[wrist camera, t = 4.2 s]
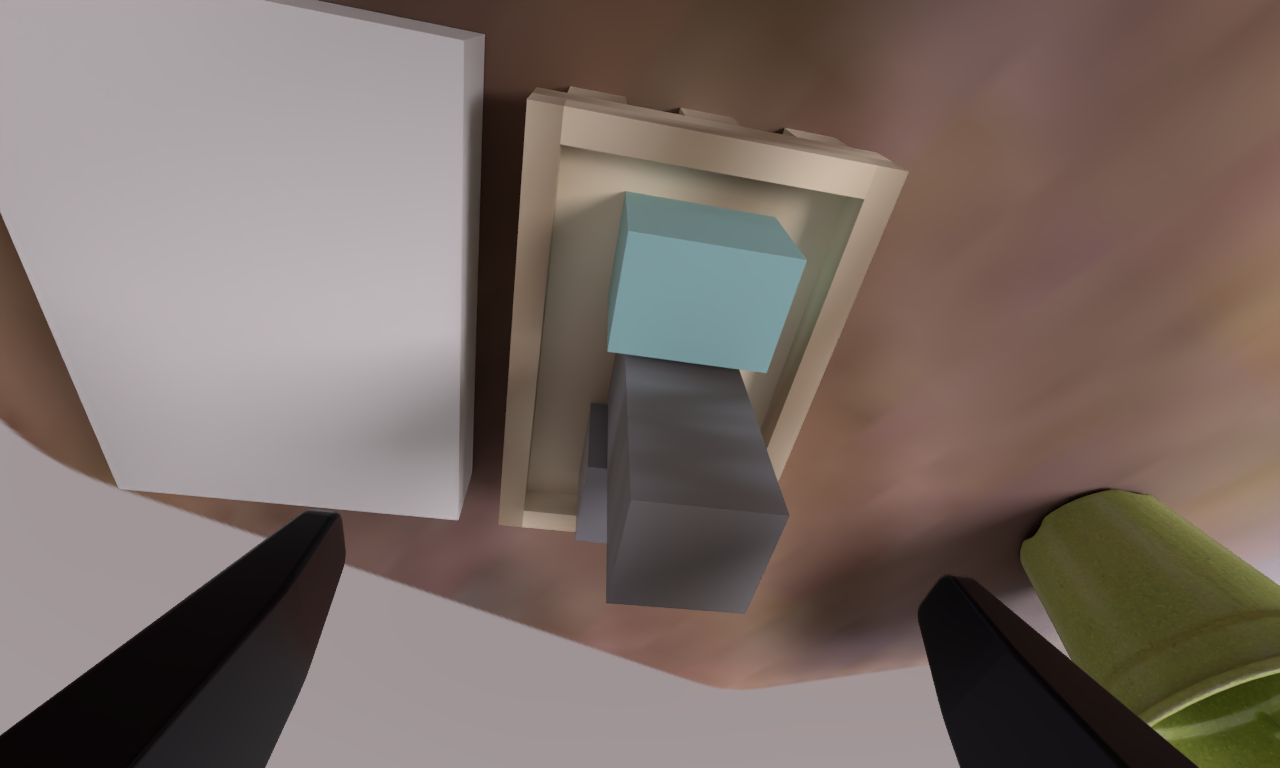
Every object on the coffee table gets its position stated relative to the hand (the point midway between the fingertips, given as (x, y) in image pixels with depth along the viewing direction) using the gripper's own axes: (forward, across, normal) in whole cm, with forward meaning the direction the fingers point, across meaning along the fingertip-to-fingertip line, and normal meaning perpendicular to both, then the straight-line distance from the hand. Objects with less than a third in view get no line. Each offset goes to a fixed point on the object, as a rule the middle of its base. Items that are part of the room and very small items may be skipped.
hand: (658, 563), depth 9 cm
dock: (+12, +10, +2) cm, 16 cm away
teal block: (+9, -1, -1) cm, 9 cm away
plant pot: (+12, -23, +9) cm, 27 cm away
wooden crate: (+12, -1, +2) cm, 12 cm away
